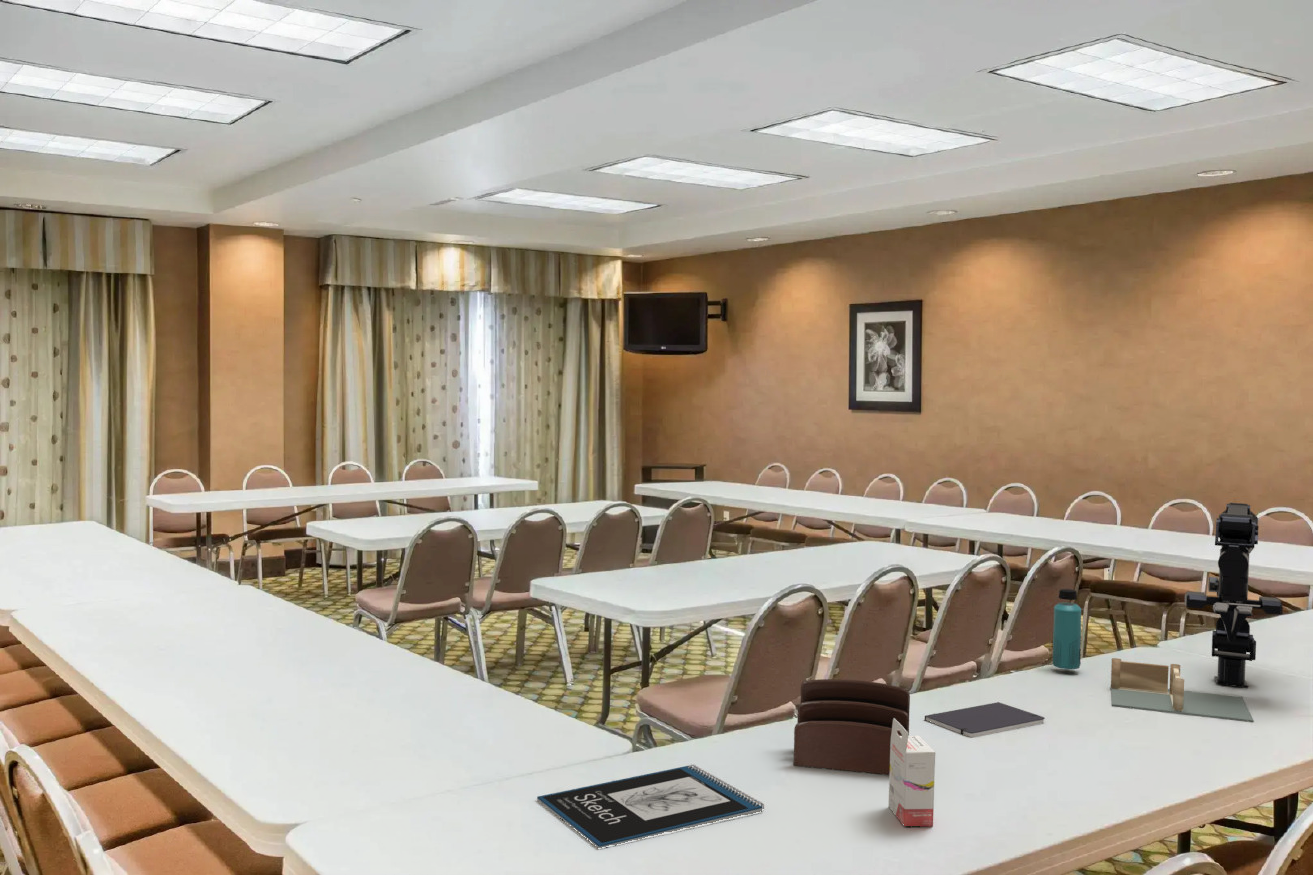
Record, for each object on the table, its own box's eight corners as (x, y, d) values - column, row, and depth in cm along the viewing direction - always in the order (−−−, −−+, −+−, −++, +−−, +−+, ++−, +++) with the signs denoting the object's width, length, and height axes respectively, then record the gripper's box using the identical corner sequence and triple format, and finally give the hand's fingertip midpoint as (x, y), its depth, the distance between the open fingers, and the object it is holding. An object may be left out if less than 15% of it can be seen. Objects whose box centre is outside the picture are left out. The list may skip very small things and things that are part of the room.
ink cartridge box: (935, 827, 170) (937, 733, 169) (903, 828, 170) (906, 733, 169) (917, 806, 179) (919, 716, 178) (887, 806, 178) (889, 716, 177)
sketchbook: (536, 804, 178) (537, 792, 178) (693, 773, 194) (693, 762, 194) (599, 853, 160) (599, 839, 160) (767, 814, 175) (767, 801, 175)
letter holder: (799, 749, 206) (801, 674, 206) (908, 760, 201) (910, 683, 201) (792, 766, 197) (794, 688, 196) (907, 778, 192) (909, 698, 191)
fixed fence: (1110, 688, 252) (1111, 657, 252) (1178, 695, 247) (1180, 664, 246) (1110, 690, 250) (1111, 659, 250) (1179, 697, 245) (1180, 666, 245)
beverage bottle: (1082, 676, 262) (1085, 592, 261) (1053, 674, 263) (1056, 591, 262) (1077, 669, 268) (1080, 587, 267) (1049, 667, 270) (1051, 586, 269)
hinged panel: (1169, 693, 245) (1170, 666, 245) (1179, 694, 244) (1180, 667, 244) (1173, 708, 233) (1174, 679, 233) (1183, 710, 233) (1184, 680, 232)
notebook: (998, 709, 236) (924, 723, 225) (998, 701, 236) (924, 715, 225) (1046, 725, 225) (970, 740, 214) (1046, 717, 225) (971, 732, 214)
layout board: (1110, 684, 255) (1111, 682, 255) (1242, 698, 245) (1242, 696, 245) (1111, 706, 238) (1111, 703, 238) (1253, 722, 228) (1253, 719, 228)
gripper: (1276, 569, 247) (1273, 638, 247) (1184, 562, 254) (1181, 630, 254) (1284, 576, 236) (1281, 649, 237) (1187, 569, 243) (1185, 640, 244)
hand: (1231, 641), depth 243 cm, fingers closed
